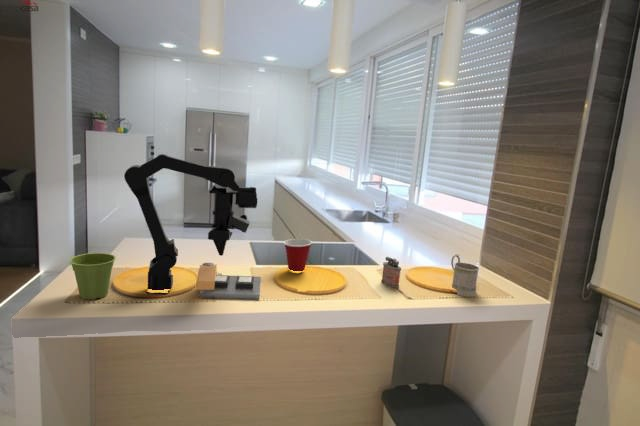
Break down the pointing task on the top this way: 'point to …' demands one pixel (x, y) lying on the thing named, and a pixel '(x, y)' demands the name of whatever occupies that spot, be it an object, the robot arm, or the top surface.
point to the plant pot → (93, 274)
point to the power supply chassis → (234, 287)
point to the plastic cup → (297, 253)
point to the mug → (464, 278)
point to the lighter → (391, 273)
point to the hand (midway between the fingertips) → (221, 255)
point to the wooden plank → (206, 277)
